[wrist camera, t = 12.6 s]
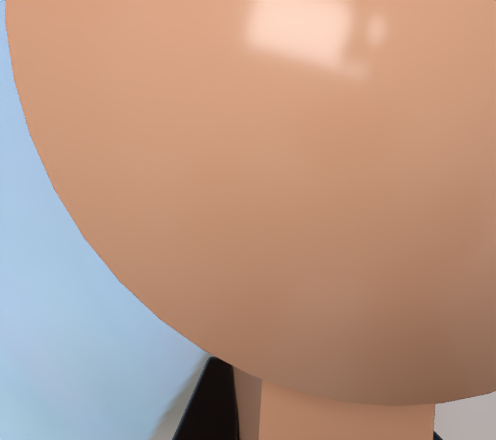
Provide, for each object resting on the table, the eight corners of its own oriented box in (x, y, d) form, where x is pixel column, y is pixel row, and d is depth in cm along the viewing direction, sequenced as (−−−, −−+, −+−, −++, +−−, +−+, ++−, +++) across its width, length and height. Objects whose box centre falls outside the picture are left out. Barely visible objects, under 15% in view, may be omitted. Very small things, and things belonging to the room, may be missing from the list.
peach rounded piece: (145, 21, 12) (31, -486, 3) (378, 49, 13) (773, -293, 4) (120, 443, 12) (-58, 1040, 3) (352, 442, 13) (688, 912, 4)
